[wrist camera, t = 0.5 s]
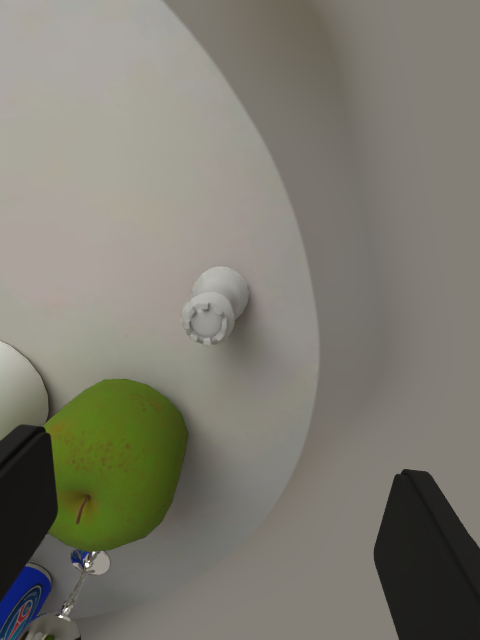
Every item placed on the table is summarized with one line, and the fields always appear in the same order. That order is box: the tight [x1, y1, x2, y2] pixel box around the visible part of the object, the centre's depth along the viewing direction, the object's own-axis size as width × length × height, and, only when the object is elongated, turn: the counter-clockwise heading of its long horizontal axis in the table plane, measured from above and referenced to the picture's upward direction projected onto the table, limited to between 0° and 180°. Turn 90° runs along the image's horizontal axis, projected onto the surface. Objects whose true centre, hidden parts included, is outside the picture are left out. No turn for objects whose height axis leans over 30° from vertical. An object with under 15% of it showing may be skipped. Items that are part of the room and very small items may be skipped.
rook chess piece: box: [181, 267, 249, 345], centre depth 23 cm, size 4×4×8 cm
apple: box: [43, 379, 188, 552], centre depth 26 cm, size 11×11×11 cm
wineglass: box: [15, 548, 110, 640], centre depth 32 cm, size 6×6×12 cm
